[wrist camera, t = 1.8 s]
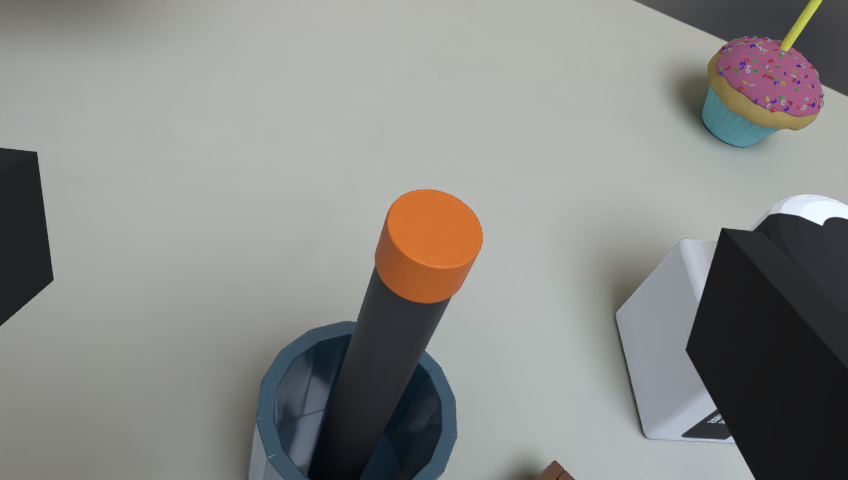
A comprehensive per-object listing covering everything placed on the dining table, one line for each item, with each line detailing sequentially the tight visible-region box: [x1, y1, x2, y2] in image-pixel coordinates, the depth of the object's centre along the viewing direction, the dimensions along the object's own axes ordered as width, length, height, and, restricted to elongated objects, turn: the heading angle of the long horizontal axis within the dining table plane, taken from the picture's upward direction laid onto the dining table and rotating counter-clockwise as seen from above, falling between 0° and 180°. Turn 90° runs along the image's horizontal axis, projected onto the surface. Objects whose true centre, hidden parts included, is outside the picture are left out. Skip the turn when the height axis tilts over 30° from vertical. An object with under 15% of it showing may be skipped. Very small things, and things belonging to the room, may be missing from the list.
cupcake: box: [702, 0, 824, 147], centre depth 50 cm, size 9×8×12 cm
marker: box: [308, 190, 483, 480], centre depth 24 cm, size 2×2×18 cm
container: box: [616, 194, 848, 443], centre depth 34 cm, size 8×8×13 cm
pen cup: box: [248, 321, 457, 480], centre depth 28 cm, size 7×7×8 cm
